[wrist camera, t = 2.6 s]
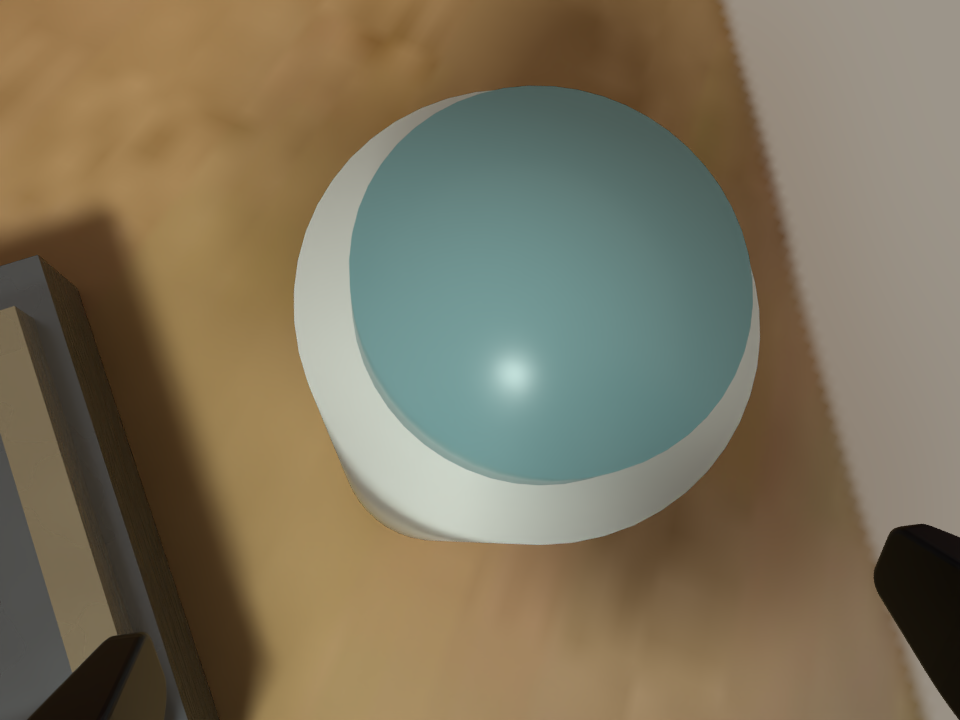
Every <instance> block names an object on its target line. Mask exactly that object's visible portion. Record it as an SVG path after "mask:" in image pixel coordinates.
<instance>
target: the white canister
mask: <svg viewBox="0 0 960 720" xmlns="http://www.w3.org/2000/svg"><path fill="white" fill-rule="evenodd" d="M294 323H295V330H296V336H297V343H298V349H299V355H300V358H301V361H302V365H303V368H304V371H305V375H306V378H307V381H308V385H309V387H310V389H311V392H312V394H313V397H314V399H315V402H316V404H317V406H318V409H319V411H320V414H321V416H322V419H323V421H324V423H325V426H326V428H327V431H328V433H329V436H330V438H331V440H332V443H333V445H334V448H335V450H336V453H337V455H338V458H339V460H340V462H341V465H342V467H343V470H344V472H345V475H346V477H347V479H348V482H349V484H350V486H351V488H352V490H353V492H354V494H355V495H356V497H357V499H358V500H359V502H360V503H361V504H362V505H363V507H364V508H365V509H366V510H367V511H368V512H369V513H370V514H371V515H372V516H373V517H374V518H375V519H376V520H378V521H379V522H380V523H382V524H383V525H385V526H386V527H388V528H390V529H392V530H394V531H396V532H398V533H400V534H403V535H405V536H408V537H411V538H416V539H421V540H431V541H453V542H479V543H504V544H530V545H547V544H561V543H574V542H579V541H584V540H588V539H593V538H598V537H602V536H606V535H609V534H611V533H614V532H617V531H620V530H622V529H625V528H628V527H631V526H633V525H636V524H637V523H639V522H641V521H643V520H645V519H647V518H649V517H650V516H652V515H654V514H656V513H658V512H660V511H662V510H663V509H664V508H666V507H667V506H668V505H670V504H671V503H672V502H674V501H675V500H677V499H678V498H679V497H681V496H682V495H683V494H685V493H686V492H687V491H688V490H689V489H690V488H691V487H692V486H693V485H694V484H695V483H696V482H697V481H698V480H699V479H700V478H701V477H702V476H703V475H704V474H705V473H706V472H707V471H708V470H709V469H710V467H711V466H712V465H713V464H714V462H715V461H716V460H717V458H718V457H719V456H720V454H721V453H722V452H723V450H724V449H725V448H726V446H727V444H728V442H729V441H730V439H731V437H732V435H733V434H734V432H735V430H736V428H737V426H738V425H739V423H740V420H741V418H742V415H743V413H744V410H745V408H746V405H747V403H748V400H749V397H750V395H751V390H752V386H753V382H754V378H755V374H756V370H757V363H758V354H759V344H760V318H759V305H758V299H757V292H756V286H755V280H754V277H753V273H752V270H751V266H750V260H749V254H748V251H747V247H746V244H745V240H744V237H743V233H742V230H741V228H740V225H739V223H738V220H737V218H736V216H735V213H734V211H733V209H732V207H731V205H730V203H729V201H728V200H727V198H726V196H725V194H724V192H723V191H722V189H721V187H720V186H719V184H718V183H717V181H716V180H715V179H714V177H713V176H712V175H711V173H710V172H709V171H708V169H707V168H706V167H705V165H704V164H703V163H702V162H701V161H700V160H699V159H698V158H697V157H696V156H695V155H694V153H693V152H692V151H691V150H690V149H689V148H688V147H687V146H686V145H685V144H683V143H682V142H681V141H680V140H679V139H678V138H676V137H675V136H674V135H673V134H672V133H671V132H669V131H668V130H667V129H665V128H664V127H662V126H661V125H659V124H658V123H656V122H655V121H653V120H652V119H650V118H649V117H647V116H645V115H643V114H642V113H640V112H638V111H636V110H634V109H632V108H630V107H628V106H626V105H624V104H621V103H619V102H616V101H614V100H611V99H609V98H606V97H603V96H600V95H596V94H592V93H589V92H585V91H581V90H576V89H569V88H562V87H555V86H520V87H510V88H502V89H498V90H492V91H482V92H474V93H470V94H465V95H461V96H456V97H452V98H448V99H445V100H442V101H439V102H437V103H434V104H431V105H428V106H426V107H423V108H421V109H419V110H417V111H415V112H413V113H411V114H409V115H407V116H405V117H403V118H401V119H399V120H397V121H396V122H394V123H393V124H391V125H390V126H388V127H387V128H386V129H384V130H383V131H381V132H380V133H378V134H377V135H376V136H374V137H373V138H372V139H370V140H369V141H368V142H367V143H366V144H365V145H364V146H363V147H362V148H361V149H360V150H359V151H357V152H356V153H355V154H354V155H353V156H352V157H351V158H350V159H349V161H348V162H347V163H346V164H345V165H344V167H343V168H342V169H341V170H340V171H339V173H338V174H337V175H336V176H335V178H334V179H333V180H332V182H331V183H330V185H329V187H328V188H327V190H326V192H325V193H324V195H323V196H322V198H321V200H320V201H319V203H318V205H317V207H316V209H315V212H314V214H313V216H312V219H311V221H310V223H309V225H308V228H307V230H306V233H305V236H304V240H303V244H302V247H301V251H300V255H299V258H298V263H297V271H296V279H295V287H294Z"/></svg>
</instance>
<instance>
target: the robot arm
mask: <svg viewBox="0 0 960 720" xmlns="http://www.w3.org/2000/svg"><path fill="white" fill-rule="evenodd" d="M874 583H875V587H876V590H877V592H878V594H879V596H880V597H881V599H882V601H883V602H884V604H885V606H886V607H887V609H888V611H889V612H890V614H891V616H892V617H893V619H894V620H895V622H896V624H897V625H898V627H899V629H900V630H901V632H902V634H903V635H904V637H905V638H906V640H907V642H908V643H909V645H910V647H911V648H912V650H913V652H914V653H915V655H916V656H917V658H918V660H919V661H920V663H921V665H922V666H923V668H924V670H925V671H926V673H927V674H928V676H929V677H930V679H931V681H932V682H933V684H934V685H935V687H936V688H937V690H938V691H939V693H940V694H941V696H942V697H943V699H944V700H945V701H946V703H947V704H948V706H949V707H950V708H951V710H952V711H953V712H954V714H955V715H956V716H957V718H958V719H959V720H960V537H957V536H955V535H953V534H950V533H948V532H945V531H942V530H940V529H937V528H935V527H932V526H929V525H926V524H916V525H908V526H901V527H897V528H894V529H893V530H892V531H891V532H890V534H889V535H888V538H887V540H886V543H885V545H884V547H883V550H882V552H881V555H880V557H879V559H878V562H877V564H876V566H875V569H874ZM166 693H167V691H166V680H165V676H164V673H163V670H162V667H161V664H160V662H159V659H158V656H157V653H156V651H155V648H154V645H153V642H152V640H151V638H150V636H149V635H148V634H147V633H145V632H136V633H129V634H122V635H115V636H111V637H109V638H107V639H106V640H105V641H104V642H102V643H101V644H100V645H99V646H98V647H97V648H96V649H95V650H94V651H93V652H92V653H91V655H90V656H89V657H88V658H87V659H86V660H85V661H84V662H83V663H82V664H81V665H80V666H79V667H78V668H77V669H76V670H75V671H74V672H73V673H72V674H71V675H70V676H69V677H68V678H67V679H66V680H65V681H64V682H63V683H62V684H61V685H60V686H59V687H58V688H57V689H56V690H55V691H54V692H53V693H52V694H51V695H50V696H49V697H48V698H47V699H46V700H45V701H44V702H43V703H42V704H41V705H40V706H39V707H38V708H37V709H36V710H35V711H34V712H33V713H32V714H31V715H30V716H29V717H28V718H27V719H26V720H164V715H165V707H166Z"/></svg>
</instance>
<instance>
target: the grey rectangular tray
mask: <svg viewBox="0 0 960 720" xmlns="http://www.w3.org/2000/svg"><path fill="white" fill-rule="evenodd" d="M136 632H145V633H147V634H148V635H149V636H150V638H151V640H152V642H153V645H154V648H155V651H156V653H157V656H158V659H159V662H160V664H161V667H162V670H163V673H164V676H165V680H166V691H167V693H166V707H165V715H164V720H219V717H218V714H217V711H216V708H215V705H214V702H213V699H212V696H211V693H210V690H209V687H208V684H207V681H206V678H205V675H204V671H203V668H202V665H201V662H200V659H199V656H198V653H197V650H196V647H195V644H194V641H193V638H192V635H191V632H190V629H189V626H188V623H187V620H186V617H185V614H184V611H183V608H182V605H181V602H180V599H179V596H178V593H177V590H176V586H175V583H174V580H173V577H172V574H171V571H170V568H169V565H168V562H167V559H166V556H165V553H164V550H163V547H162V544H161V541H160V538H159V535H158V532H157V529H156V526H155V523H154V520H153V517H152V514H151V511H150V508H149V504H148V501H147V498H146V495H145V492H144V489H143V486H142V483H141V480H140V477H139V474H138V471H137V468H136V465H135V462H134V459H133V456H132V453H131V450H130V447H129V444H128V441H127V438H126V435H125V432H124V429H123V426H122V422H121V419H120V416H119V413H118V410H117V407H116V404H115V401H114V398H113V395H112V392H111V389H110V386H109V383H108V380H107V377H106V374H105V371H104V368H103V365H102V362H101V359H100V356H99V353H98V350H97V347H96V344H95V340H94V337H93V334H92V331H91V328H90V325H89V322H88V319H87V316H86V313H85V310H84V307H83V304H82V301H81V298H80V295H79V292H78V289H77V288H76V287H75V286H74V285H73V284H72V283H70V282H69V281H68V280H67V279H66V278H65V277H63V276H62V275H61V274H60V273H59V272H57V271H56V270H55V269H54V268H53V267H52V266H50V265H49V264H48V263H47V262H46V261H44V260H43V259H42V258H41V257H40V256H39V255H36V256H32V257H29V258H26V259H23V260H19V261H16V262H13V263H9V264H6V265H3V266H0V720H26V719H27V718H28V717H29V716H30V715H31V714H32V713H33V712H34V711H35V710H36V709H37V708H38V707H39V706H40V705H41V704H42V703H43V702H44V701H45V700H46V699H47V698H48V697H49V696H50V695H51V694H52V693H53V692H54V691H55V690H56V689H57V688H58V687H59V686H60V685H61V684H62V683H63V682H64V681H65V680H66V679H67V678H68V677H69V676H70V675H71V674H72V673H73V672H74V671H75V670H76V669H77V668H78V667H79V666H80V665H81V664H82V663H83V662H84V661H85V660H86V659H87V658H88V657H89V656H90V655H91V653H92V652H93V651H94V650H95V649H96V648H97V647H98V646H99V645H100V644H101V643H102V642H104V641H105V640H106V639H107V638H109V637H111V636H115V635H122V634H129V633H136Z"/></svg>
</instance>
